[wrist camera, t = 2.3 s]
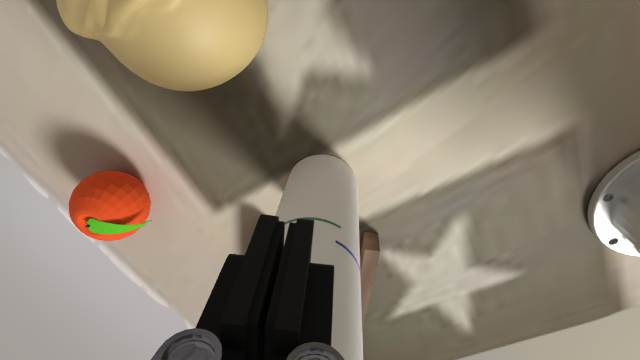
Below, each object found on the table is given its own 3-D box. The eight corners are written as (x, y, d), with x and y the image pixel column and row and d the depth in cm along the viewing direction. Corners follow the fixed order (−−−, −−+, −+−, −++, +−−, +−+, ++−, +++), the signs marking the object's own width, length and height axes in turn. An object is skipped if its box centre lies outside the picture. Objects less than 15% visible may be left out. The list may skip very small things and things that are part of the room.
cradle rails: (377, 233, 38) (379, 251, 35) (351, 359, 48) (351, 380, 45) (259, 219, 38) (252, 235, 35) (259, 347, 48) (253, 367, 46)
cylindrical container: (322, 226, 38) (283, 551, 16) (273, 184, 36) (149, 490, 14) (372, 187, 35) (407, 516, 13) (321, 140, 33) (263, 434, 11)
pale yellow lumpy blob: (214, -131, 24) (126, -211, 15) (303, 32, 29) (279, 52, 19) (102, -35, 27) (-28, -49, 18) (197, 97, 32) (133, 142, 23)
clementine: (171, 168, 36) (133, 205, 30) (173, 221, 39) (139, 265, 33) (95, 153, 36) (40, 187, 29) (103, 208, 39) (56, 249, 33)
